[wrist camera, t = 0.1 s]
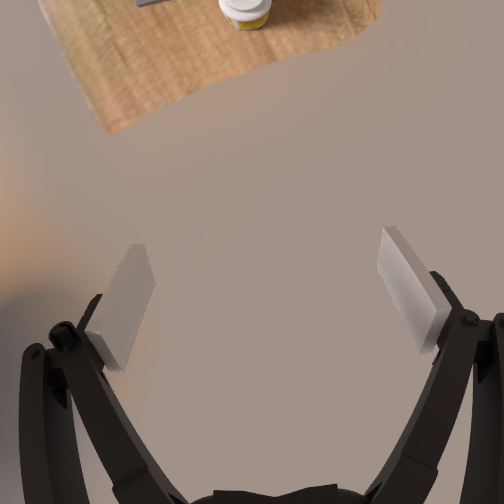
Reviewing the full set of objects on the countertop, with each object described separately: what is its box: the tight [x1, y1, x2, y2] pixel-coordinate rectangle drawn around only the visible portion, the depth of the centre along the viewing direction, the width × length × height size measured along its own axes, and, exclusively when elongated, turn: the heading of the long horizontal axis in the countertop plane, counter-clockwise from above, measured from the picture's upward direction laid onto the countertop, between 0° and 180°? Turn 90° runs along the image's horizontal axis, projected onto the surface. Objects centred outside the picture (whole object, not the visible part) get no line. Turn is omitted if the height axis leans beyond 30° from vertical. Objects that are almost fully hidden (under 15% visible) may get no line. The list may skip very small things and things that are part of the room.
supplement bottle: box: [219, 0, 272, 31], centre depth 26 cm, size 6×6×10 cm
